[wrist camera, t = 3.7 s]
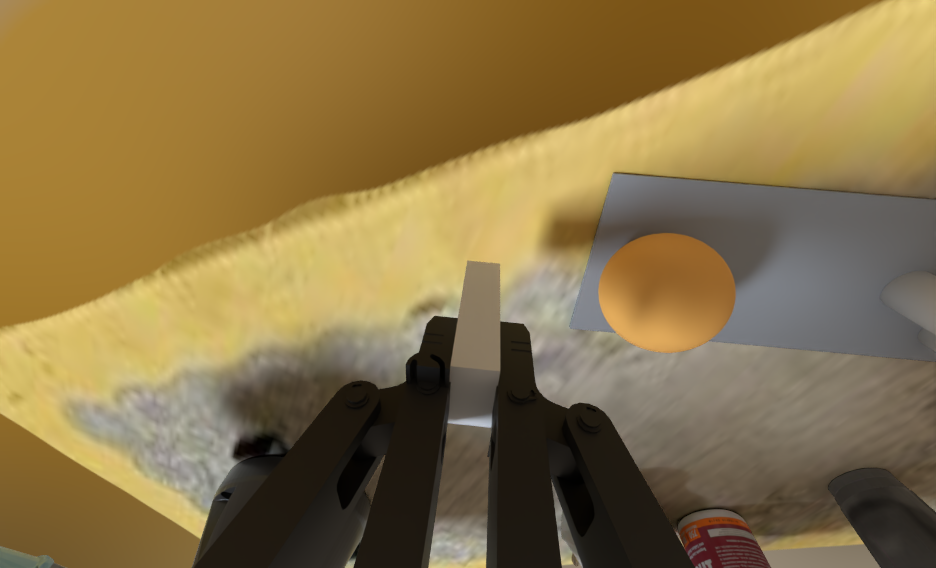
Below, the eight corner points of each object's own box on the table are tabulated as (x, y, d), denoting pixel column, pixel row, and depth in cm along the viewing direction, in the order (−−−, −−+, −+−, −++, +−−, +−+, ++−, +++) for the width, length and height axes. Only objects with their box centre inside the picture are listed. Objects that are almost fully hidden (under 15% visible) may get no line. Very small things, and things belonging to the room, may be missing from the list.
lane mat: (569, 326, 23) (570, 328, 23) (613, 172, 18) (614, 173, 17) (988, 364, 22) (991, 367, 22) (1163, 218, 17) (1170, 219, 17)
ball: (576, 301, 22) (601, 372, 17) (602, 210, 19) (643, 264, 14) (672, 310, 22) (727, 384, 17) (715, 220, 18) (799, 277, 13)
